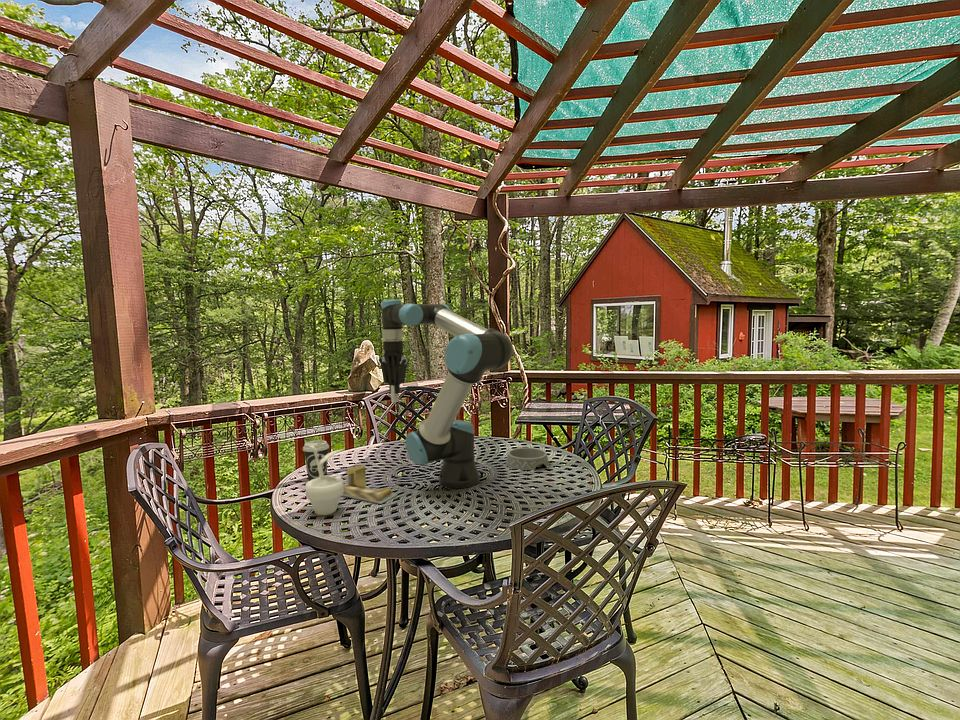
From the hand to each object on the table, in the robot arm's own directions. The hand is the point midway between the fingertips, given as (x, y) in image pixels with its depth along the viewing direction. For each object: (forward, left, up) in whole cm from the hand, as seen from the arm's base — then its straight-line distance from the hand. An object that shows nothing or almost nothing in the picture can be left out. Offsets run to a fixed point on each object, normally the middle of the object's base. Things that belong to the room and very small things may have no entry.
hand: (395, 401), depth 185 cm
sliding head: (+2, +20, -28) cm, 35 cm away
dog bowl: (-40, -35, -30) cm, 61 cm away
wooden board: (-4, +21, -29) cm, 36 cm away
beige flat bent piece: (-4, +21, -28) cm, 36 cm away
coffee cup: (+24, +18, -30) cm, 42 cm away
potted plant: (-1, +37, -30) cm, 48 cm away
